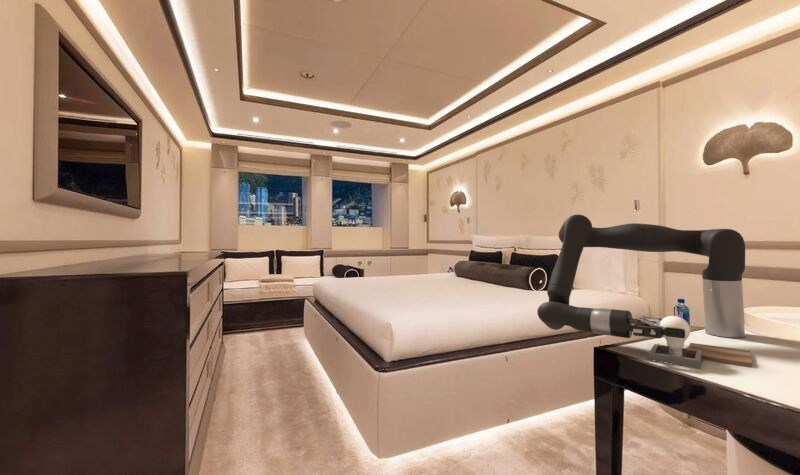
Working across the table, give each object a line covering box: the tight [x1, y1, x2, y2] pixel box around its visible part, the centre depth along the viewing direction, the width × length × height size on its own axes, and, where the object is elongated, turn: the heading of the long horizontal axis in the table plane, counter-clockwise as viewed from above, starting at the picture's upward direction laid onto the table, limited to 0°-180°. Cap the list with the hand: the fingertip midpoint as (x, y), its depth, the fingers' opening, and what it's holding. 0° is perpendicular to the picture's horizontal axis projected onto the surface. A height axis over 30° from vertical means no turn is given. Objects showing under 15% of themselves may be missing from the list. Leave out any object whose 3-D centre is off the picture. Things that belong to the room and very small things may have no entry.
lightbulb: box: [659, 315, 692, 357], centre depth 90 cm, size 6×6×11 cm
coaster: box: [686, 342, 753, 368], centre depth 91 cm, size 12×12×1 cm
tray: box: [648, 343, 703, 369], centre depth 90 cm, size 10×10×2 cm
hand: (686, 330), depth 88 cm, fingers closed on lightbulb, 6 cm apart
